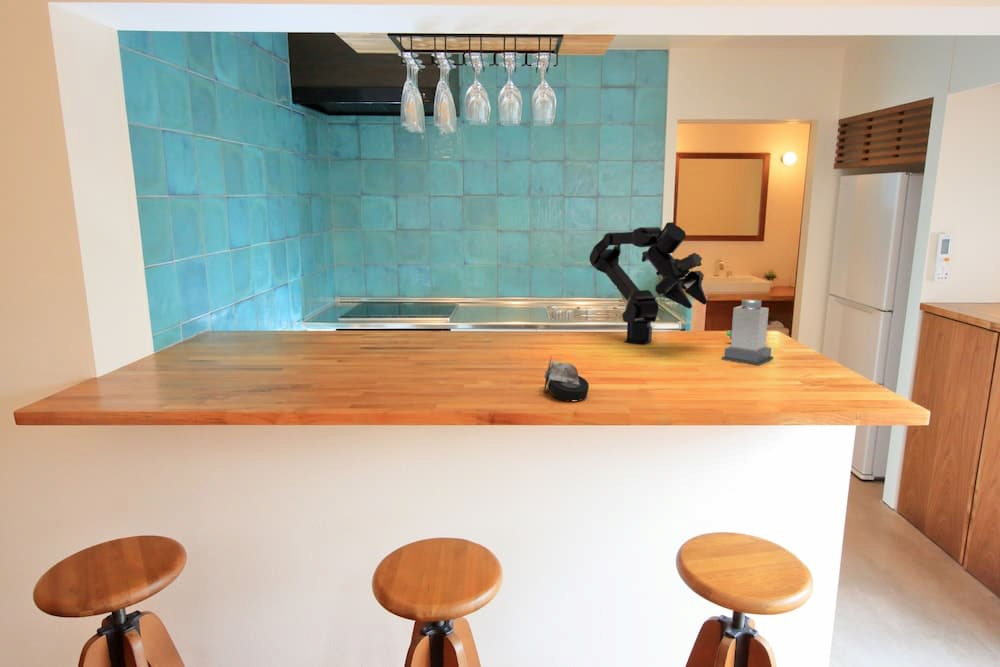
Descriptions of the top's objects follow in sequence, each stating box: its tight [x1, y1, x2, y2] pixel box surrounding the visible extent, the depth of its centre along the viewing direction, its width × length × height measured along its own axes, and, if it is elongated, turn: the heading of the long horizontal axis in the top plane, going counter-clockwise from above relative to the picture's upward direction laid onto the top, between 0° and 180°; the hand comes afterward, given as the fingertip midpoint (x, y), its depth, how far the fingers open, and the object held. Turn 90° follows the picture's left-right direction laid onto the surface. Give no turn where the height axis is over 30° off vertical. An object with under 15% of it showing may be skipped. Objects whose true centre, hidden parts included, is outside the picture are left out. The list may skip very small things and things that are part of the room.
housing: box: [730, 298, 770, 352], centre depth 171 cm, size 7×6×13 cm
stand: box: [721, 345, 774, 366], centre depth 173 cm, size 10×10×3 cm
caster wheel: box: [543, 355, 590, 402], centre depth 142 cm, size 7×11×10 cm
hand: (698, 305), depth 177 cm, fingers open, 9 cm apart
